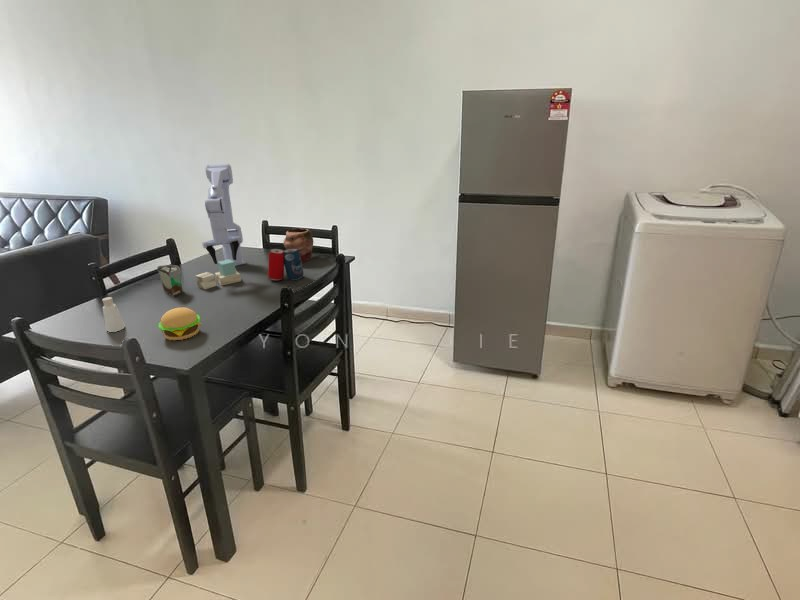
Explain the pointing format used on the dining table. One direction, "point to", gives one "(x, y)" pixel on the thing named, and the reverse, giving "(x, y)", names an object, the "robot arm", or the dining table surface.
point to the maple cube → (205, 280)
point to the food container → (171, 279)
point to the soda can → (293, 264)
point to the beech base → (227, 278)
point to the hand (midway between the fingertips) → (225, 261)
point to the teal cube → (226, 267)
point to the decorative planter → (300, 242)
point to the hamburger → (179, 324)
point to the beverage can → (276, 264)
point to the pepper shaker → (112, 315)
